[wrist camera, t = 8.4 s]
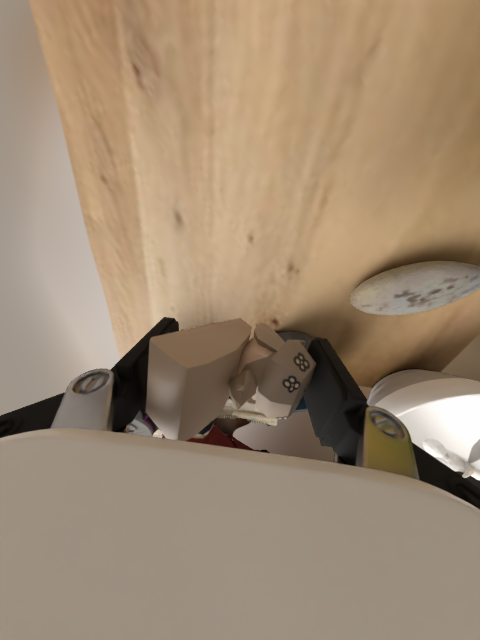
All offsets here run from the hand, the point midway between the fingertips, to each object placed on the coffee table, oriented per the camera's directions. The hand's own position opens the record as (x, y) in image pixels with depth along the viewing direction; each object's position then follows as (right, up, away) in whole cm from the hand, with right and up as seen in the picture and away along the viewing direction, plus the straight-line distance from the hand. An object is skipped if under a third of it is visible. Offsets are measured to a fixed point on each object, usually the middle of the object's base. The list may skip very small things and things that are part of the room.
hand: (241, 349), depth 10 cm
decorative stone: (+21, +6, +12) cm, 25 cm away
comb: (+1, -13, +22) cm, 26 cm away
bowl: (+29, -11, +21) cm, 38 cm away
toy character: (-1, +1, 0) cm, 1 cm away
